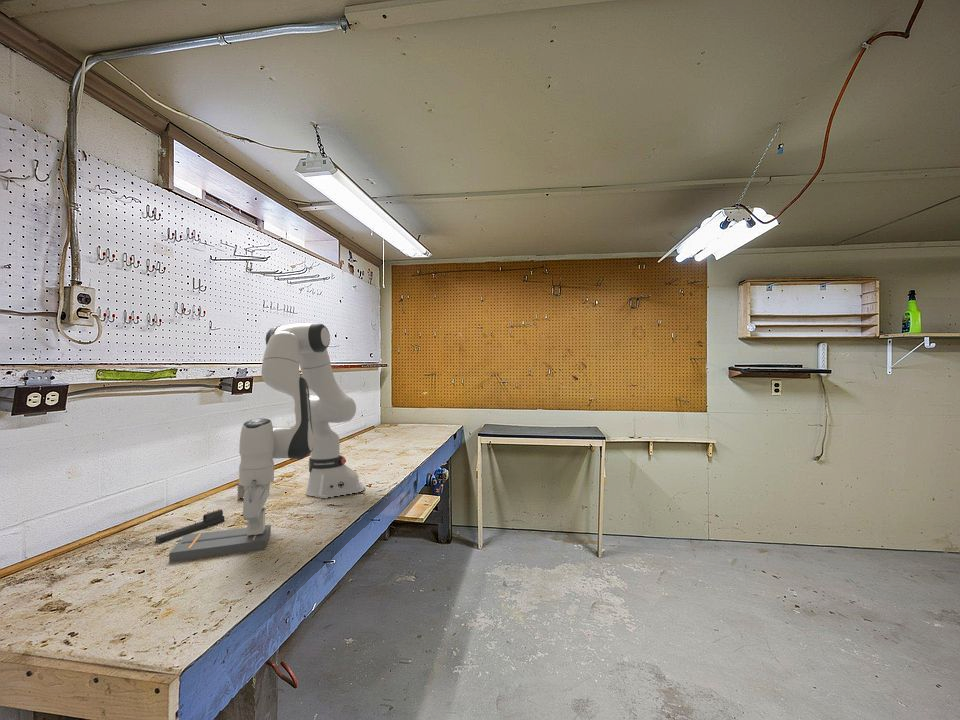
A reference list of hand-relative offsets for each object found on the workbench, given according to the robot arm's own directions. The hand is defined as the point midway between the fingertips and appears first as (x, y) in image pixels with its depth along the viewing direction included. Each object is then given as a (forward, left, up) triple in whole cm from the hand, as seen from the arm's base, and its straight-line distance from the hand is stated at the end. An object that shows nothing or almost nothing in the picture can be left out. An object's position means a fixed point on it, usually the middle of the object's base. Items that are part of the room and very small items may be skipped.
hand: (256, 524), depth 118 cm
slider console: (+8, 0, -5) cm, 9 cm away
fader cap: (0, 0, -2) cm, 2 cm away
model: (+8, -48, -6) cm, 49 cm away
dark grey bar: (+20, -16, -6) cm, 26 cm away
